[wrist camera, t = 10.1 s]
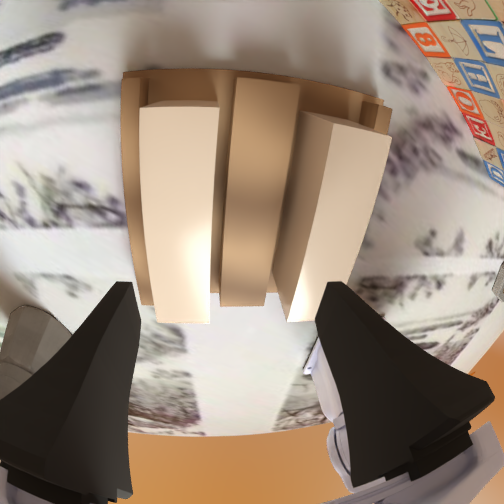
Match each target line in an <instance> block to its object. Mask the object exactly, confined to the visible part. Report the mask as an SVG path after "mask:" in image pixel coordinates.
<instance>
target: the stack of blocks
mask: <svg viewBox="0 0 504 504" xmlns="http://www.w3.org/2000/svg"><path fill="white" fill-rule="evenodd" d="M379 1H380V2H381V3H382V4H383V5H384V6H385V7H386V8H387V10H388V11H389V12H390V13H391V14H392V15H393V16H394V17H395V18H396V19H397V21H398V22H399V23H400V24H401V26H402V27H403V29H404V30H405V31H406V32H407V33H408V35H409V36H410V37H411V38H412V40H413V41H414V42H415V43H416V45H417V46H418V47H419V49H420V50H421V51H422V53H423V54H424V55H425V56H426V58H427V60H428V61H429V63H430V64H431V66H432V67H433V68H434V70H435V71H436V73H437V74H438V76H439V77H440V79H441V81H442V82H443V84H444V85H446V87H447V88H448V90H449V92H450V93H451V95H452V96H453V98H454V100H455V102H456V104H457V105H458V107H459V109H460V111H461V112H462V114H463V116H464V118H465V120H466V122H467V124H468V126H469V128H470V130H471V132H472V134H473V135H474V140H475V142H476V144H477V147H478V149H479V151H480V154H481V156H482V158H483V161H484V164H485V166H486V169H487V171H488V174H489V177H490V178H491V179H492V180H494V181H496V182H497V183H499V184H500V185H502V186H503V187H504V0H379Z"/></svg>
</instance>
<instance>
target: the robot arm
mask: <svg viewBox="0 0 504 504" xmlns="http://www.w3.org/2000/svg"><path fill="white" fill-rule="evenodd" d="M315 322H316V327H317V332H318V336H319V337H318V339H317V341H316V344H315V346H314V348H313V350H312V352H311V355H310V357H309V359H308V361H307V363H306V365H305V368H304V370H303V373H304V374H311V375H312V379H313V382H314V385H315V389H316V392H317V395H318V399H319V402H320V405H321V409H322V411H323V413H324V415H325V416H326V417H327V418H328V419H329V420H330V421H331V422H333V423H334V426H335V427H333V428H331V429H330V432H329V434H328V437H327V450H328V454H329V457H330V460H331V463H332V465H333V467H334V468H335V470H336V471H337V472H338V473H339V475H340V476H341V478H342V480H343V482H344V484H345V487H346V488H348V491H349V492H352V493H354V494H351V495H348V496H345V497H342V498H339V499H335V500H331V501H328V502H324V503H320V504H372V503H374V504H469V503H470V502H471V501H472V500H473V499H474V498H475V497H476V495H477V494H478V493H479V492H480V491H481V490H482V489H483V487H484V486H485V485H486V484H487V483H488V482H489V481H490V480H491V479H492V478H493V477H494V476H495V475H496V473H497V472H498V471H499V470H500V469H501V468H502V467H503V466H504V453H503V451H502V448H501V446H500V443H499V441H498V438H497V436H496V434H495V431H494V429H493V427H492V425H491V423H490V422H487V423H486V424H484V425H483V426H482V427H480V428H479V429H477V430H476V431H475V432H473V433H472V434H470V435H469V433H468V430H470V429H471V425H470V423H469V421H470V420H471V419H473V418H474V417H476V416H477V415H478V414H479V413H480V412H482V411H483V410H484V409H485V408H487V407H488V406H489V405H490V404H491V403H492V402H493V401H494V399H495V396H494V394H493V393H492V391H491V389H490V387H489V385H488V383H487V382H486V381H484V380H481V379H479V378H476V377H473V376H471V375H468V374H466V373H464V372H461V371H459V370H457V369H455V368H453V367H451V366H449V365H447V364H446V363H444V362H442V361H440V360H439V359H437V358H435V357H434V356H432V355H430V354H429V353H427V352H426V351H424V350H423V349H421V348H420V347H418V346H417V345H416V344H414V343H413V342H411V341H410V340H409V339H407V338H406V337H405V336H403V335H402V334H401V333H400V332H398V331H397V330H396V329H395V328H394V327H392V326H391V325H390V324H389V323H388V322H387V321H386V319H385V317H381V316H380V315H379V314H378V313H376V312H375V311H374V310H373V309H372V308H371V307H370V306H369V305H368V304H367V303H365V302H364V301H363V300H362V299H361V298H360V297H359V296H358V295H357V294H356V293H355V292H354V291H352V290H351V289H350V288H349V287H348V286H347V285H346V284H344V283H343V282H342V281H332V282H327V285H326V288H325V291H324V293H323V296H322V299H321V302H320V305H319V308H318V311H317V313H316V316H315ZM140 329H141V318H140V314H139V310H138V306H137V302H136V297H135V293H134V289H133V284H132V282H116V283H115V284H114V285H113V286H112V287H111V288H110V290H109V291H108V292H107V293H106V295H105V296H104V297H103V298H102V300H101V301H100V302H99V303H98V305H97V306H96V307H95V308H94V310H93V311H92V312H91V313H90V315H89V316H88V317H87V318H86V320H85V321H84V322H83V323H82V324H81V326H80V327H79V328H78V329H77V330H76V331H75V333H74V334H73V335H72V336H71V337H70V338H69V340H68V341H67V342H66V343H65V344H64V345H63V346H62V347H61V348H60V349H59V350H58V352H57V353H56V354H55V355H54V356H53V357H52V358H51V359H50V360H49V361H48V362H47V363H45V364H44V365H43V366H42V367H41V368H40V369H39V370H38V371H36V372H35V373H34V374H33V375H32V376H31V377H30V378H29V379H27V380H26V381H25V382H24V383H22V384H21V385H20V386H19V387H17V388H16V389H15V390H13V391H12V392H11V393H9V394H8V395H6V396H5V397H4V398H2V399H1V400H0V460H1V461H3V462H5V463H7V464H8V465H9V466H8V470H7V469H5V468H3V467H1V466H0V504H108V501H110V502H115V503H116V502H117V497H118V498H123V499H127V498H129V497H130V496H131V495H133V490H132V484H131V477H130V468H129V455H128V404H129V395H130V389H131V384H132V378H133V373H134V368H135V363H136V358H137V353H138V348H139V340H140Z"/></svg>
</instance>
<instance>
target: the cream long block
mask: <svg viewBox="0 0 504 504" xmlns="http://www.w3.org/2000/svg"><path fill="white" fill-rule="evenodd" d="M391 140H392V137H390V136H388V135H386V134H383V133H381V132H379V131H376V130H374V129H371V128H369V127H366V126H363V125H361V124H358V123H355V122H353V121H350V120H347V119H342V118H338V117H333V116H328V115H323V114H317V113H312V112H306V111H300V114H299V121H298V128H297V134H296V140H295V147H294V153H293V159H292V165H291V171H290V177H289V183H288V189H287V195H286V201H285V207H284V212H283V218H282V224H281V229H280V235H279V240H278V246H277V251H276V257H275V262H274V267H273V272H272V274H273V277H274V280H275V284H276V287H277V290H278V294H279V297H280V301H281V304H282V307H283V311H284V314H285V318H286V321H287V322H299V321H314V320H315V316H316V313H317V311H318V308H319V305H320V302H321V299H322V296H323V293H324V291H325V288H326V285H327V282H332V281H342V282H343V283H344V284H346V285H347V282H348V279H349V277H350V274H351V272H352V269H353V266H354V264H355V261H356V258H357V255H358V253H359V250H360V247H361V244H362V241H363V238H364V235H365V232H366V229H367V226H368V223H369V220H370V217H371V214H372V211H373V207H374V204H375V201H376V197H377V194H378V190H379V187H380V183H381V180H382V176H383V172H384V169H385V165H386V161H387V157H388V153H389V149H390V144H391Z"/></svg>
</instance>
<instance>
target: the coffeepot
mask: <svg viewBox="0 0 504 504" xmlns="http://www.w3.org/2000/svg"><path fill="white" fill-rule="evenodd" d="M71 336H72V335H71V334H70V332H69V331H68V330H67V329H66V327H65V326H64V325H63V324H62V323H60V322H59V321H58V320H57V319H56V318H54V317H53V316H51V315H50V314H48V313H46V312H45V311H42V310H40V309H38V308H35V307H31V306H25V305H24V306H21V307H18V308H17V309H16V310H15V311H13V312H12V313H11V314H10V318H9V321H8V324H7V328H6V331H5V335H4V339H3V343H2V347H1V351H0V400H1V399H2V398H4V397H5V396H6V395H8V394H9V393H11V392H12V391H13V390H15V389H16V388H17V387H19V386H20V385H21V384H22V383H24V382H25V381H26V380H27V379H29V378H30V377H31V376H32V375H33V374H34V373H35V372H36V371H38V370H39V369H40V368H41V367H42V366H43V365H44V364H45V363H47V362H48V361H49V360H50V359H51V358H52V357H53V356H54V355H55V354H56V353H57V352H58V350H59V349H60V348H61V347H62V346H63V345H64V344H65V343H66V342H67V341H68V340H69V338H70V337H71ZM0 466H1V467H3V468H5V469H7V470H8V466H9V465H8V464H7V463H5V462H3V461H1V463H0Z"/></svg>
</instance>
